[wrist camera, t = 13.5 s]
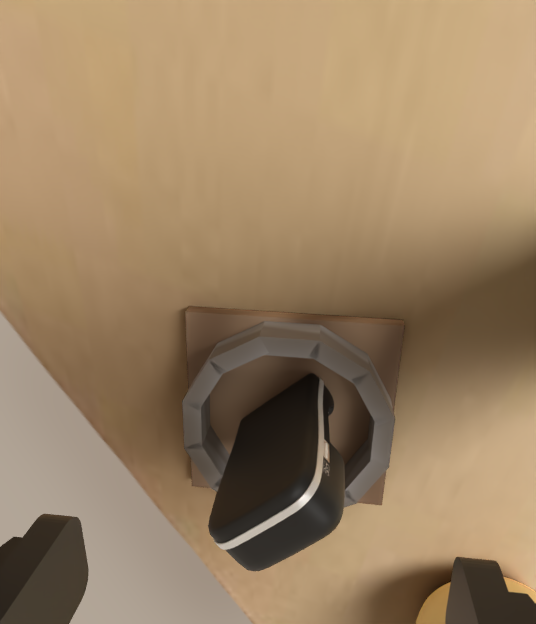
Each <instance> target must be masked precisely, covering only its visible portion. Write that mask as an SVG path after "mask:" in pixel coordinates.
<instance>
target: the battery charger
mask: <svg viewBox="0 0 536 624" xmlns="http://www.w3.org/2000/svg"><path fill="white" fill-rule="evenodd" d="M333 410H334V400H333V397H332V395H331V393H330V391H329V390H328V388H327V387H326V386H325V385H324V382H323V381H322V379H321V378H318V377H317V376H316V375H315V374H314V373H310V374H308V375H307V376H305V377H303V378H302V379H300V380H299V381H297V382H296V383H294V384H293V385H291V386H290V387H288V388H287V389H285V390H284V391H282V392H281V393H279V394H278V395H276V396H275V397H273V398H272V399H270V400H269V401H267V402H266V403H264V404H263V405H262V406H260V407H259V408H257V409H256V410H254V411H253V412H251V413H250V414H248V415H247V416H246V417H244V418H243V419H242V420H241V421H240V424H239V428H238V432H237V435H236V438H235V442H234V445H233V448H232V451H231V453H230V456H229V459H228V462H227V464H226V467H225V470H224V473H223V476H222V479H221V482H220V485H219V488H218V491H217V494H216V498H215V501H214V505H213V508H212V512H211V515H210V519H209V525H208V527H209V532H210V535H211V536H212V537H213V539H214V542H215V543H216V544H217V545H218V546H219V547H220V548H221V549H224V550H226V551H227V552H228V553H229V554H230V555H231V556H232V557H233V558H234V559H235V560H236V561H237V562H238V563H239V564H241V565H242V566H243V567H244V568H246V569H247V570H250V571H260V570H264V569H266V568H268V567H271V566H272V565H274V564H276V563H278V562H280V561H282V560H284V559H286V558H288V557H290V556H292V555H294V554H296V553H298V552H299V551H301V550H303V549H305V548H306V547H308V546H310V545H312V544H314V543H315V542H317V541H319V540H321V539H322V538H324V537H326V536H327V535H329V534H330V533H331V532H332V531H333V530H334V529H335V528H336V527H337V525H338V524H339V522H340V520H341V517H342V514H343V508H344V497H345V467H344V461H343V458H342V456H341V455H340V453H339V452H338V451H337V449H336V448H335V447H334V446H333V445H332V444H331V443H330V434H329V419H328V416H329V415H331V414H332V412H333Z"/></svg>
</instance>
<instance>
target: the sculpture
mask: <svg viewBox="0 0 536 624" xmlns="http://www.w3.org/2000/svg"><path fill="white" fill-rule="evenodd" d="M504 580H505V583H506V586H507V588H508V591H509V592H516V593H525V594H528V595H529V596H530V597H531V599H532V600H533V601H534V602H535V603H536V592H535V591H534V590H532V589H531V588H529V587H528V586H526V585H524V584H522V583H520V582H517V581H515V580H512V579H510V578H506V577H504ZM450 583H451V582H449V583H447V584H445V585H443V586H441V587H440V588H438V589H437V590H435V591H434V592H433V593H432V594H431V595H430V596H429V597H428V598H427V599H426V601H425V602H424V604H423V606H422V608H421V610H420V612H419V614H418V617H417V620H416V624H445V616H446V607H447V601H448V595H449V589H450Z"/></svg>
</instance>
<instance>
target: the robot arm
mask: <svg viewBox="0 0 536 624" xmlns="http://www.w3.org/2000/svg"><path fill="white" fill-rule="evenodd" d="M87 581H88V564H87V558H86V551H85V545H84V539H83V533H82V527H81V522H80V520H79V518H77V517H71V516H61V515H51V514H43V515H41V516H40V517H38V519H37V520H36V521H35V522H34V523H33V525H32V526H31V527H30V529H29V530H28V531H27V533H26V534H25V535H24V537H23V538H21V537H13V538H12V539H10V540H9V541H7V542H6V543H5V544H3V545H2V546H1V547H0V624H69V623H70V621H71V619H72V617H73V615H74V613H75V611H76V609H77V607H78V606H79V604H80V602H81V600H82V598H83V595H84V593H85V590H86V585H87ZM445 624H536V603H535V602H534V601H533V600H532V599H531V597H530V596H529V595H528V594H525V593H516V592H509V591H508V588H507V586H506V583H505V580H504V577H503V575H502V572H501V569H500V567H499V565H498V563H497V562H496V561H492V560H482V559H472V558H462V557H456V559H455V561H454V566H453V572H452V577H451V583H450V589H449V595H448V601H447V607H446V616H445Z"/></svg>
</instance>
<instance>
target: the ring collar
mask: <svg viewBox="0 0 536 624" xmlns="http://www.w3.org/2000/svg"><path fill="white" fill-rule="evenodd" d="M185 316H186V342H187V368H188V392H187V393H186V395H185V397H184V399H183V401H182V406H183V429H184V449H185V450H186V452H187V453H188V454H189V456H190V457H191V473H192V486H196V487H206V488H211V489H213V490H215V491H216V492H217V491H218V488H219V485H220V482H221V479H222V476H223V473H224V470H225V467H226V464H227V462H228V459H229V456H230V453H231V451H232V448H233V445H234V442H235V438H236V435H237V432H238V428H239V424H240V421H241V420H242V419H243V418H244V417H246V416H247V415H248V414H250V413H251V412H253V411H254V410H256V409H257V408H259V407H260V406H262V405H263V404H264V403H266V402H267V401H269V400H270V399H272V398H273V397H275V396H276V395H278V394H279V393H281V392H282V391H284V390H285V389H287V388H288V387H290V386H291V385H293V384H294V383H296V382H297V381H299V380H300V379H302V378H303V377H305V376H307V375H308V374H310V373H314V374H315V375H316V376H317V377H318V378H321V379H322V381H323V382H324V385H325V386H326V387H327V388H328V390H329V391H330V393H331V395H332V397H333V400H334V410H333V412H332V414H331V415H329V416H328V419H329V434H330V443H331V444H332V445H333V446H334V447H335V448H336V449H337V451H338V452H339V453H340V455H341V456H342V458H343V461H344V467H345V497H344V507H347V506H350V505H353V504H356V503H365V504H375V505H382V500H383V492H384V484H385V476H386V470H387V469H388V468H389V462H390V454H391V446H392V439H393V431H394V423H395V416H394V406H395V398H396V390H397V382H398V374H399V367H400V359H401V351H402V343H403V335H404V327H405V325H404V322H403V320H396V319H380V318H365V317H349V316H333V315H317V314H302V313H286V312H270V311H254V310H239V309H223V308H207V307H191V306H189V308H188V309H187V310H186V311H185Z"/></svg>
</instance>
